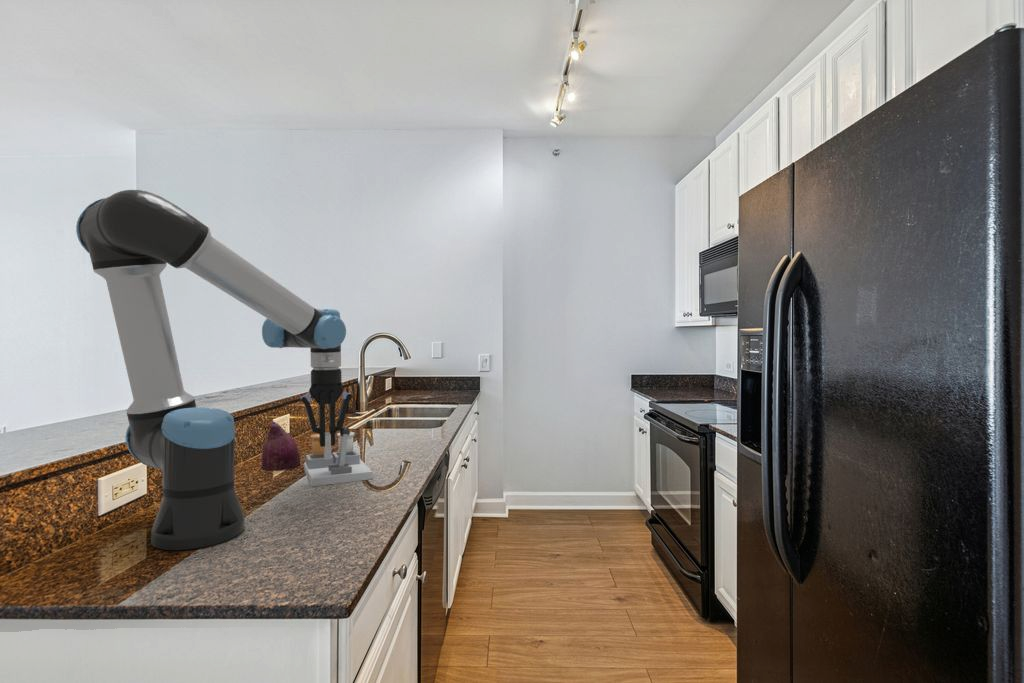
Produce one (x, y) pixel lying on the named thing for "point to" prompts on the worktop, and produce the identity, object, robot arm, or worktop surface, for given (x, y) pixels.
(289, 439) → the vegetable
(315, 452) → the plunger orange
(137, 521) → the worktop surface
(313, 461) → the panel
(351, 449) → the plunger white
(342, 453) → the lever
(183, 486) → the robot arm
